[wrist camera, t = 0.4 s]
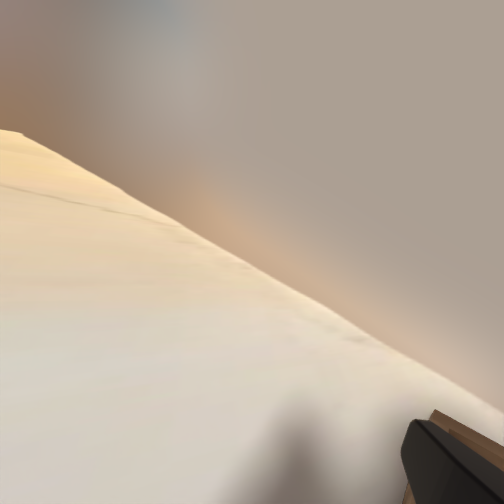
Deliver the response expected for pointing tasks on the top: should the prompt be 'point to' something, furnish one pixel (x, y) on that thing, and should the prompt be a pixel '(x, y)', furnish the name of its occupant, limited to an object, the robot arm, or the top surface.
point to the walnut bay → (470, 438)
